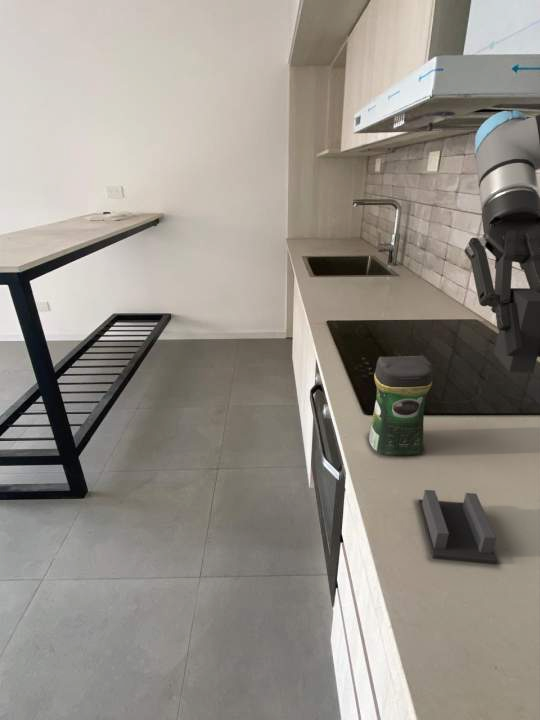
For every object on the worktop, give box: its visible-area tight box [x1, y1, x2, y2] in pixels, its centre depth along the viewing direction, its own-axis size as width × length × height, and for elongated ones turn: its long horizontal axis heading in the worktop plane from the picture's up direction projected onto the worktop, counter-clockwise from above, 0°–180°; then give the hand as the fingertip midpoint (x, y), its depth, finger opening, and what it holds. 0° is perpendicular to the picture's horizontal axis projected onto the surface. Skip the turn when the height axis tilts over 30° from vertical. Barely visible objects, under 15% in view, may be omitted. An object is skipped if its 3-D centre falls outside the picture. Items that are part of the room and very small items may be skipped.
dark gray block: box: [493, 287, 540, 374], centre depth 54 cm, size 3×6×10 cm, turn 171°
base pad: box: [417, 489, 497, 565], centre depth 57 cm, size 8×10×4 cm
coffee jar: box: [368, 354, 433, 457], centre depth 72 cm, size 10×8×19 cm
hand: (530, 352), depth 51 cm, fingers closed on dark gray block, 3 cm apart
